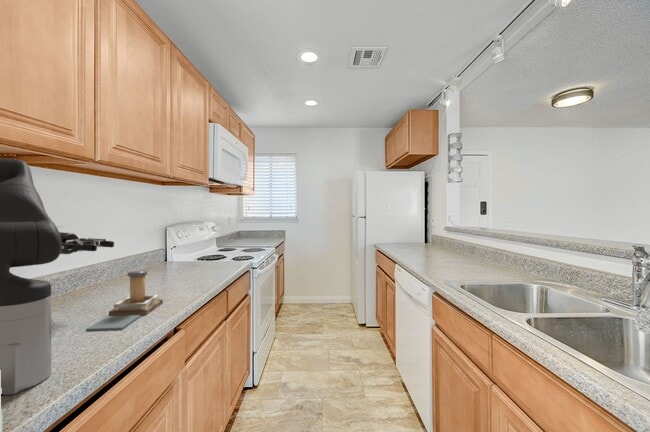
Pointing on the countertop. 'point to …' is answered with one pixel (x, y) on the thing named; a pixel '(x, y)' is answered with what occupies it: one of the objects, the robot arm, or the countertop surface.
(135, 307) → the square wooden tray
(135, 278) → the cable spool
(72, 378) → the countertop surface
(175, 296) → the countertop surface
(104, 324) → the slate mat
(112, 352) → the countertop surface
